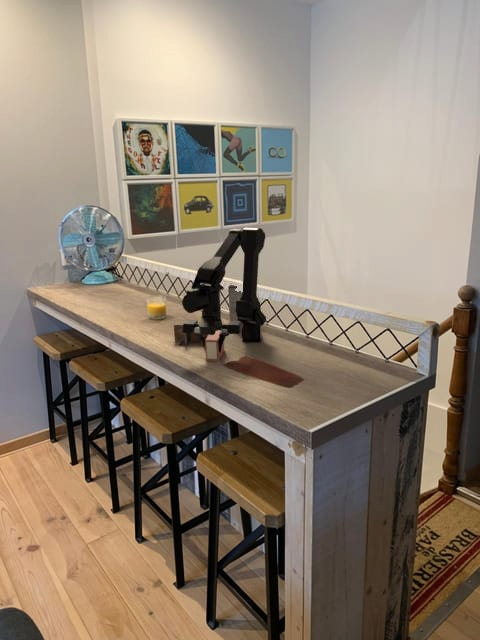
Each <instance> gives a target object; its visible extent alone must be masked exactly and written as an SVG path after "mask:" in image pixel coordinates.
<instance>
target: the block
mask: <svg viewBox="0 0 480 640" xmlns="http://www.w3.org/2000/svg"><path fill="white" fill-rule="evenodd" d="M220 333H221V330H218V331H216V333H215V334H214V335H208V336H207V338H206V339H205V349H206V351H205V361H208V362H209V361H212V362H213V361H214V362H218V361H219V360H220V359H221V357H222V355H223V353H224V352H225V342H224V343H223V347H222V350H221V352H220V353H219V334H220ZM205 349H204V350H205Z"/></svg>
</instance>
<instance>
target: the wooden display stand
mask: <svg viewBox="0 0 480 640" xmlns="http://www.w3.org/2000/svg"><path fill="white" fill-rule="evenodd" d="M183 324H184V323H174V324H173V332H174V333H173V334H174V341H175V342H176V341H177V342H180V341H181V342H182V341H183V340H185V338H184V333H183V332H182V325H183ZM190 336H191V342H201V340H200V338H199V337H198V336H196V335H194V331H193V332H192V333H190ZM207 336H208V335H207Z"/></svg>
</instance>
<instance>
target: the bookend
mask: <svg viewBox="0 0 480 640" xmlns="http://www.w3.org/2000/svg"><path fill="white" fill-rule="evenodd" d="M184 338H185V340H183V341H181V342H180V343H179V344H178V345H179V346H182V347H183V346H184V347H185V346H187V347H188V346H189V344H191V342H192V341H191V336H190V333H184Z"/></svg>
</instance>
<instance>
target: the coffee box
mask: <svg viewBox="0 0 480 640" xmlns="http://www.w3.org/2000/svg"><path fill="white" fill-rule="evenodd" d="M227 288H228V289H227V290H228V291H227V292H228V311H229V315H228V316H229V322H230V321H238V318H237V315H236V312H235V310H236V301H237V300H240V298H241V297H242V293H241V291H239V292H237V291H235V289H236V288H237V286H234V285H231V284H229V285H228V287H227ZM242 326H243V323H242Z"/></svg>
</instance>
